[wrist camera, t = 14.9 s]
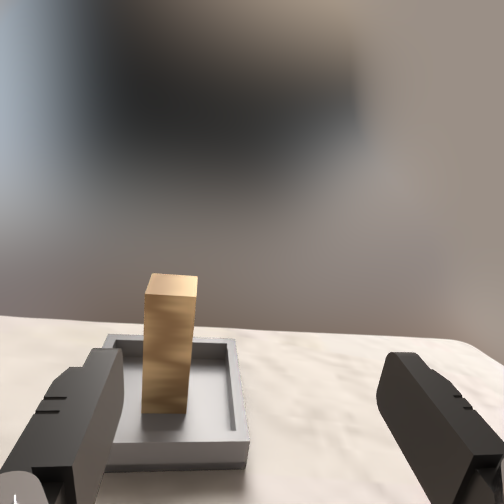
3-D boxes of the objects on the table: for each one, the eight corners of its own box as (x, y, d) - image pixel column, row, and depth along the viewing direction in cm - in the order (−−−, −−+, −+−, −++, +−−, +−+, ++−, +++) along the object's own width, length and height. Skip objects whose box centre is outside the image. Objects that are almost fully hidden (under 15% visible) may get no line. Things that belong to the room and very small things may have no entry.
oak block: (188, 383, 36) (197, 276, 32) (186, 413, 32) (196, 296, 28) (148, 382, 35) (152, 273, 31) (141, 413, 31) (144, 293, 27)
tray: (232, 360, 41) (235, 338, 40) (245, 468, 28) (249, 441, 27) (108, 356, 39) (108, 333, 38) (60, 473, 26) (58, 443, 25)
